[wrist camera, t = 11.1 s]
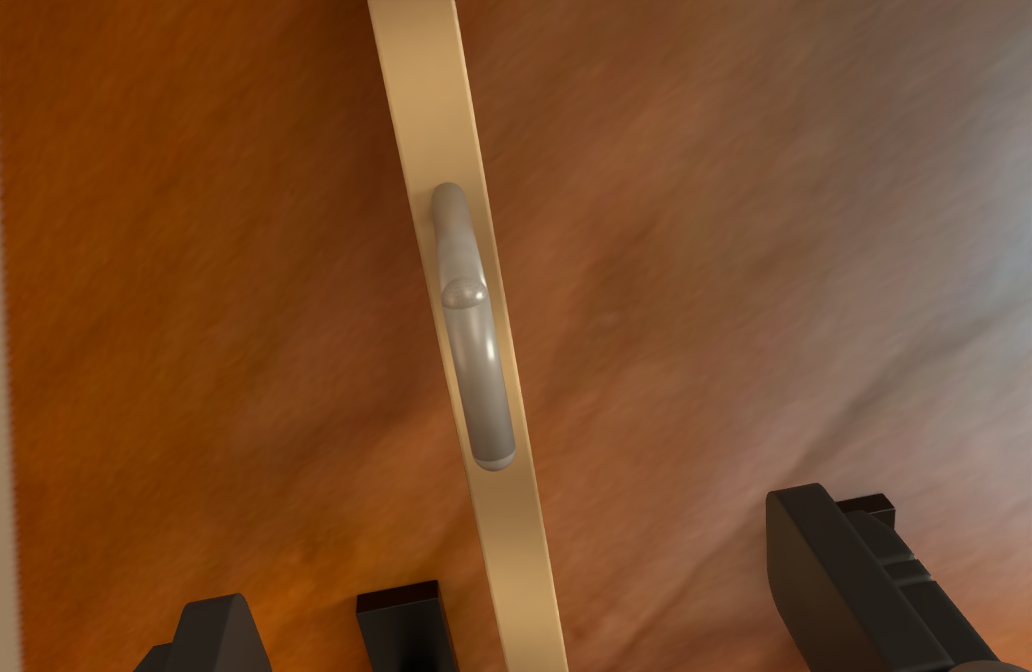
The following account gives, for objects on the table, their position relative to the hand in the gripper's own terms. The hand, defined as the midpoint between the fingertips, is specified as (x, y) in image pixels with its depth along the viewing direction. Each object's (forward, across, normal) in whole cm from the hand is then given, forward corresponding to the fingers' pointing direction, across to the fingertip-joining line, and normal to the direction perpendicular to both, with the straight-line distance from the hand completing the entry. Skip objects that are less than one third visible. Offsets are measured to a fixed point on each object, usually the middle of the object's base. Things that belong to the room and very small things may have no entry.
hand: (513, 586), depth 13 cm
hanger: (+15, 0, -3) cm, 15 cm away
